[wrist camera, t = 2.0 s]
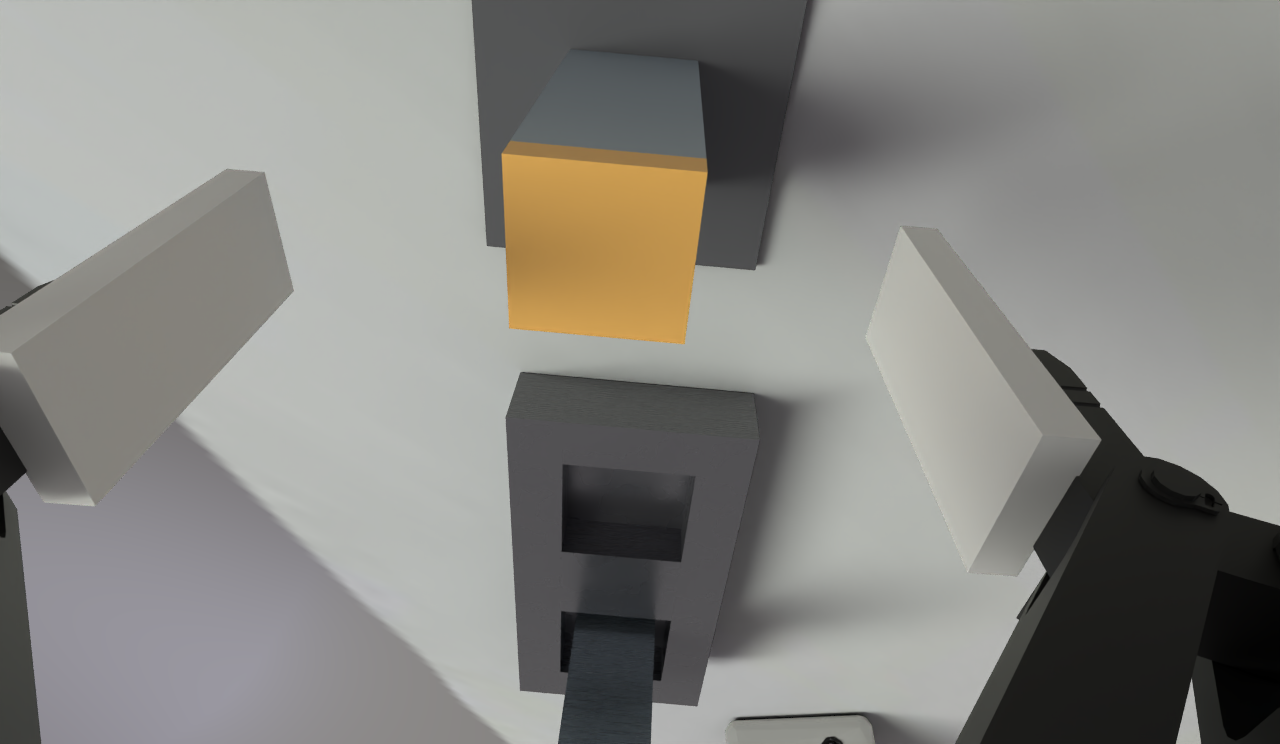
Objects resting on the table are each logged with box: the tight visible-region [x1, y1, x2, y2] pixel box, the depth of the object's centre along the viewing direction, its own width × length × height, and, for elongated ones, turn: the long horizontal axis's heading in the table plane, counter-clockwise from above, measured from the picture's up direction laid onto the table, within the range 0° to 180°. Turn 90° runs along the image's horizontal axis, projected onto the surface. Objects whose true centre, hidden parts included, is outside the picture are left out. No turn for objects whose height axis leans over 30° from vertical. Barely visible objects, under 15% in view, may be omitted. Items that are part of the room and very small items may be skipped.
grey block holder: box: [506, 373, 760, 744], centre depth 31 cm, size 10×20×11 cm, turn 176°
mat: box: [472, 0, 807, 270], centre depth 23 cm, size 10×10×1 cm
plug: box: [502, 49, 708, 344], centre depth 18 cm, size 4×4×10 cm
